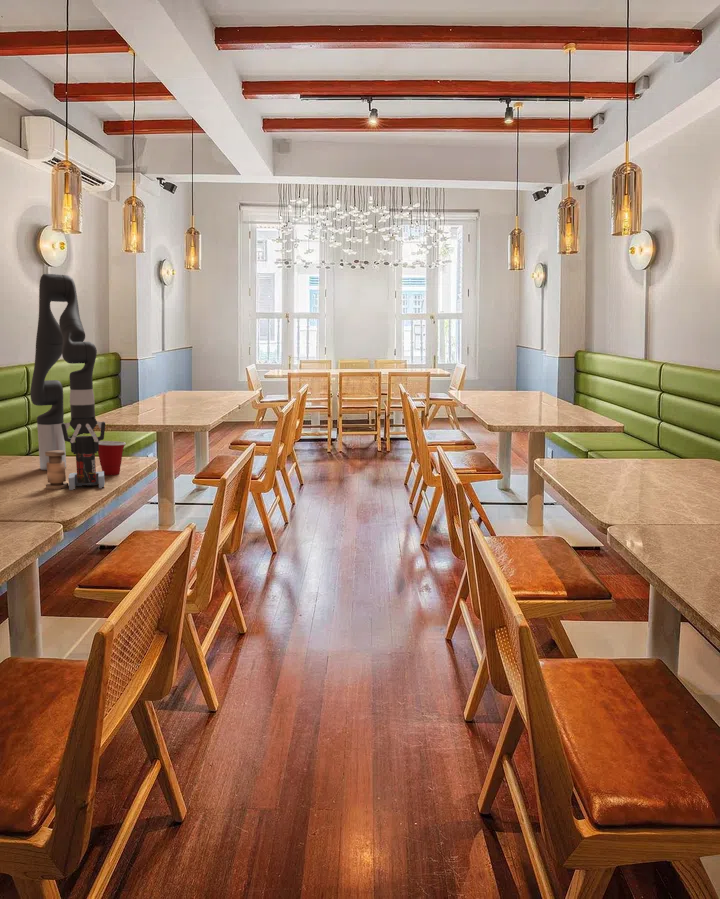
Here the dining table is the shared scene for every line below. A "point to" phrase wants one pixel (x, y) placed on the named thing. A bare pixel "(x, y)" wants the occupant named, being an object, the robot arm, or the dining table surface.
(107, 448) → the plastic cup
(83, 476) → the deodorant
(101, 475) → the notch board
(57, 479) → the bobbin
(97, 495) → the dining table surface
